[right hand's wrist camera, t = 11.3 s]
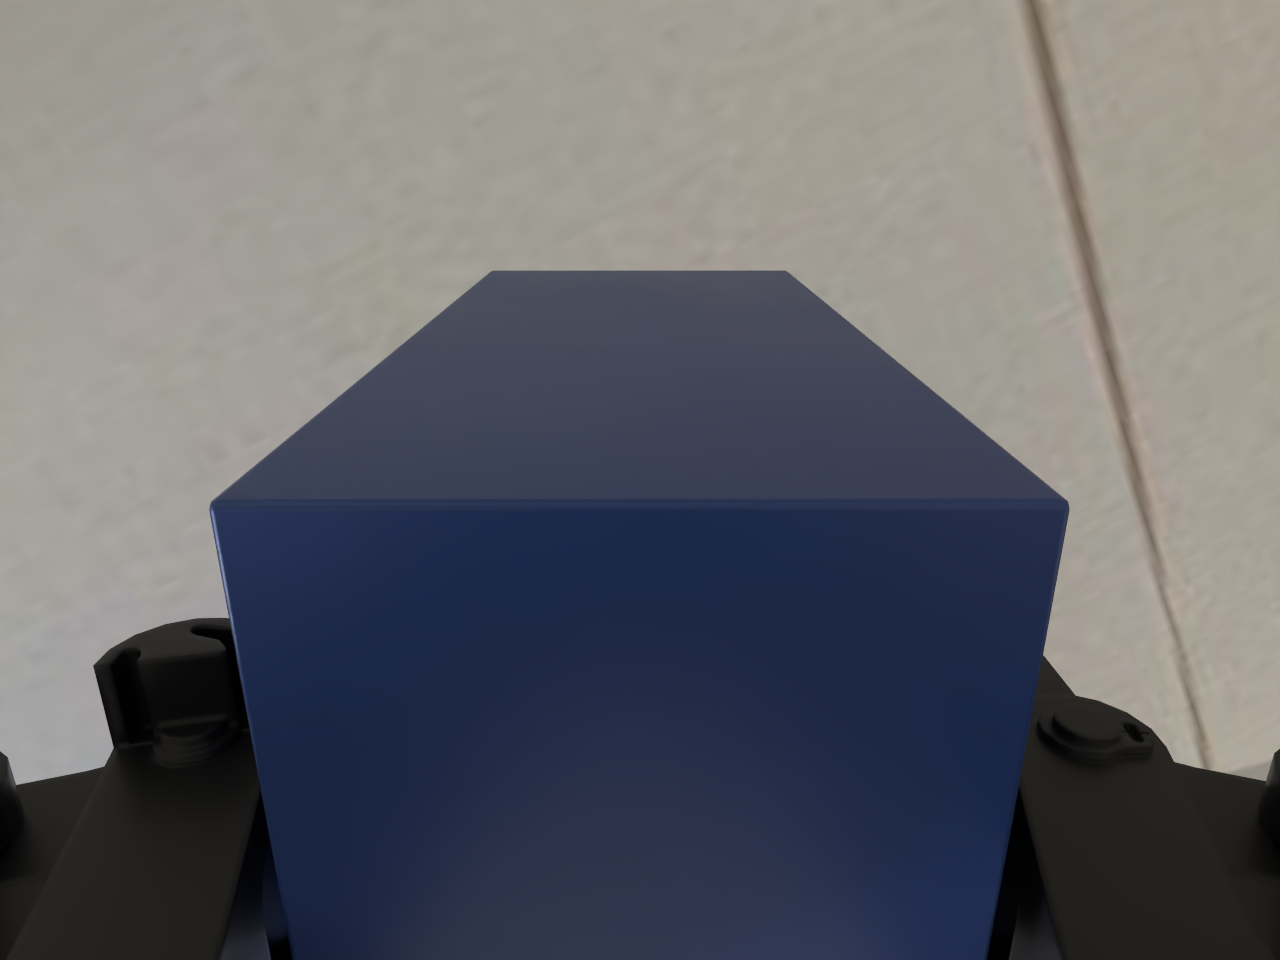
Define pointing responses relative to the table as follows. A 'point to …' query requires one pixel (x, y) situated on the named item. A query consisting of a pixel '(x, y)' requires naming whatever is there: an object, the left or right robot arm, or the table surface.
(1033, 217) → the table surface
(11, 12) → the table surface
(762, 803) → the bar
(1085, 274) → the table surface
